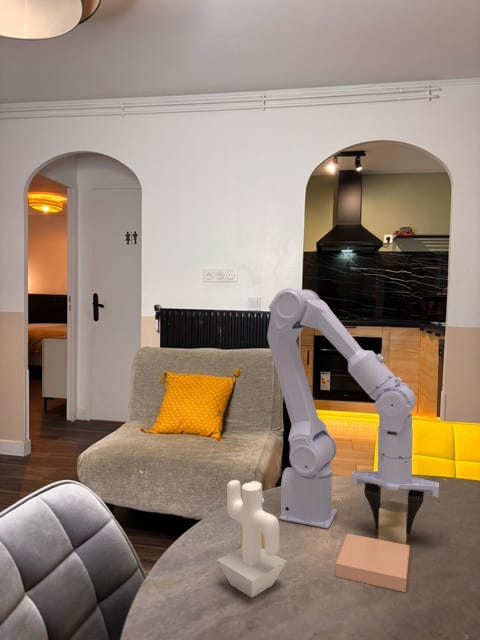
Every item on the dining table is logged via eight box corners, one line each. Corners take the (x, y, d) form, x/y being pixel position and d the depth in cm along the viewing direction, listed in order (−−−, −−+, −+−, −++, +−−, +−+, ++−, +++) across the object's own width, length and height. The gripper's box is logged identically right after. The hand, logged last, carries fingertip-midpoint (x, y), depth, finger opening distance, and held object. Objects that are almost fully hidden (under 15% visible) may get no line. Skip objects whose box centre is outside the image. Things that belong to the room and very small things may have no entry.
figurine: (257, 611, 64) (258, 501, 63) (211, 581, 70) (212, 481, 70) (292, 588, 69) (293, 487, 68) (246, 562, 75) (247, 469, 75)
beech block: (378, 540, 83) (379, 509, 83) (381, 528, 87) (381, 499, 87) (405, 545, 81) (406, 514, 81) (407, 533, 85) (407, 503, 85)
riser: (335, 576, 72) (336, 563, 72) (347, 544, 81) (347, 533, 81) (405, 592, 68) (405, 578, 68) (409, 557, 77) (409, 545, 77)
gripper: (349, 454, 82) (347, 531, 83) (439, 466, 77) (437, 548, 77) (355, 443, 89) (354, 514, 90) (439, 453, 83) (437, 529, 84)
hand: (393, 529), depth 84 cm, fingers closed on beech block, 4 cm apart
